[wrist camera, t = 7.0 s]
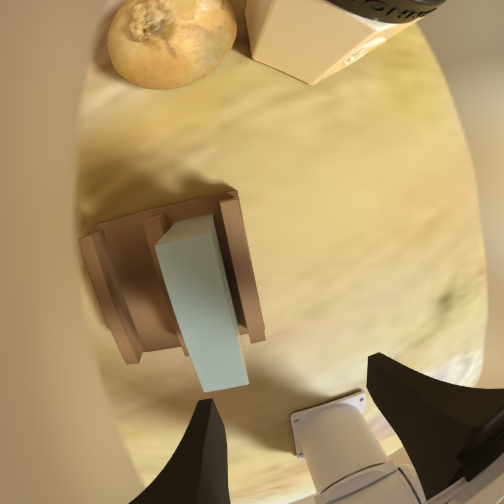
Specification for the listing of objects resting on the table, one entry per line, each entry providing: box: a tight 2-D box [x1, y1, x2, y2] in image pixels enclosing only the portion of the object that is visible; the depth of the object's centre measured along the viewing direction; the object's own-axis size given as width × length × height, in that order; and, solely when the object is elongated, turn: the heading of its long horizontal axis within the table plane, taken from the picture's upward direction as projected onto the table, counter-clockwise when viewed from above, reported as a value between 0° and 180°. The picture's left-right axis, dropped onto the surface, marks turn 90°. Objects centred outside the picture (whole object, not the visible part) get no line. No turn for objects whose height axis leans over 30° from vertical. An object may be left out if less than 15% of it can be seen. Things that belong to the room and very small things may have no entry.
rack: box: [79, 190, 266, 365], centre depth 18 cm, size 10×10×3 cm
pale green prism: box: [155, 213, 249, 392], centre depth 15 cm, size 8×2×6 cm, turn 11°
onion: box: [107, 0, 237, 90], centre depth 12 cm, size 8×8×7 cm
